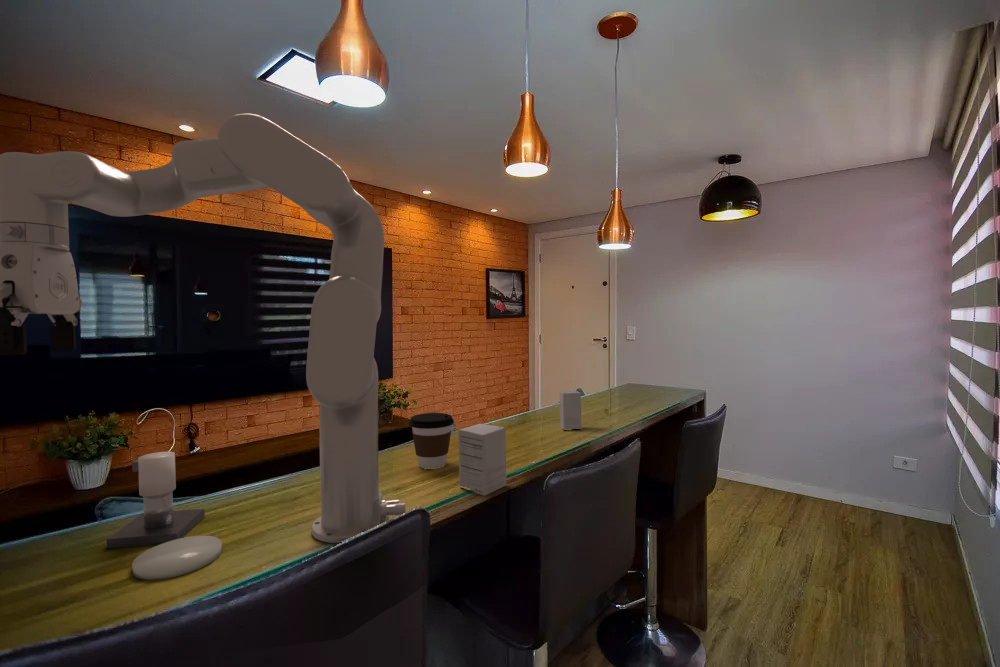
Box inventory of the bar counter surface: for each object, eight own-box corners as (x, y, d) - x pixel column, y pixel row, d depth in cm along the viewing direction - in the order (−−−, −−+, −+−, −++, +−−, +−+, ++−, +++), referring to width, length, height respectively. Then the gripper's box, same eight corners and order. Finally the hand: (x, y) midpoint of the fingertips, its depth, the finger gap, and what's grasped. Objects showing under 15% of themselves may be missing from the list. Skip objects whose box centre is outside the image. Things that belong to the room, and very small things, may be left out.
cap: (181, 484, 82) (180, 450, 81) (166, 495, 77) (165, 459, 76) (143, 487, 80) (142, 452, 80) (126, 498, 76) (125, 461, 75)
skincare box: (577, 427, 151) (577, 390, 151) (582, 430, 147) (581, 392, 147) (559, 428, 150) (558, 391, 150) (563, 431, 146) (563, 393, 146)
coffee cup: (456, 458, 119) (455, 412, 118) (453, 472, 108) (452, 421, 107) (413, 459, 118) (412, 412, 118) (405, 473, 107) (404, 422, 107)
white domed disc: (233, 538, 76) (232, 532, 76) (203, 574, 65) (202, 567, 65) (158, 545, 74) (157, 539, 74) (114, 583, 63) (114, 576, 63)
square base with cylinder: (204, 516, 85) (203, 478, 84) (177, 542, 75) (175, 499, 75) (143, 521, 83) (141, 482, 83) (106, 548, 73) (105, 504, 73)
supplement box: (481, 478, 103) (480, 422, 103) (507, 486, 99) (506, 427, 98) (458, 488, 98) (457, 428, 97) (484, 496, 93) (483, 434, 92)
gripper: (16, 229, 62) (21, 356, 63) (101, 248, 79) (105, 348, 80) (-51, 227, 61) (-45, 357, 61) (50, 248, 78) (54, 349, 78)
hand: (39, 352), depth 71 cm, fingers open, 9 cm apart
